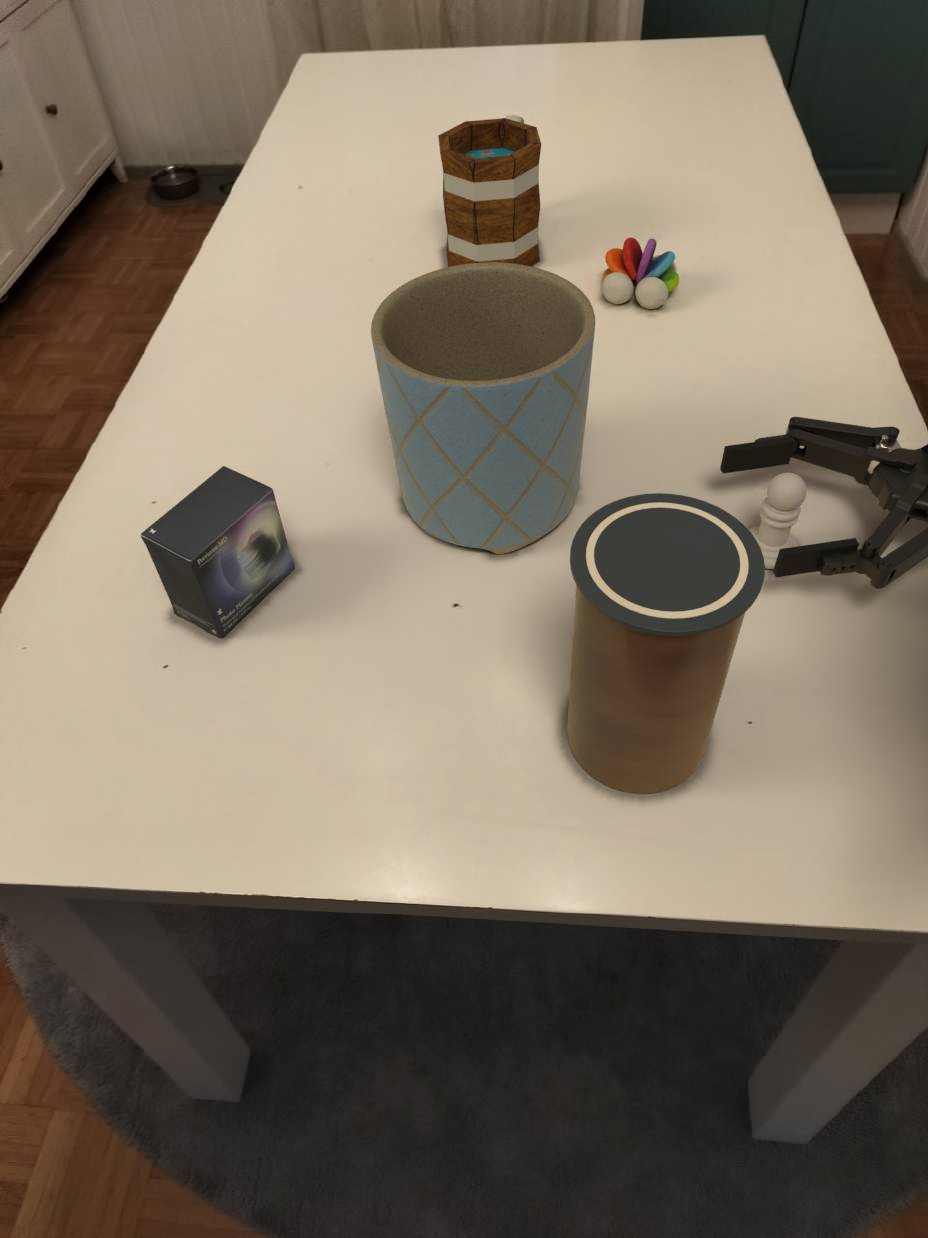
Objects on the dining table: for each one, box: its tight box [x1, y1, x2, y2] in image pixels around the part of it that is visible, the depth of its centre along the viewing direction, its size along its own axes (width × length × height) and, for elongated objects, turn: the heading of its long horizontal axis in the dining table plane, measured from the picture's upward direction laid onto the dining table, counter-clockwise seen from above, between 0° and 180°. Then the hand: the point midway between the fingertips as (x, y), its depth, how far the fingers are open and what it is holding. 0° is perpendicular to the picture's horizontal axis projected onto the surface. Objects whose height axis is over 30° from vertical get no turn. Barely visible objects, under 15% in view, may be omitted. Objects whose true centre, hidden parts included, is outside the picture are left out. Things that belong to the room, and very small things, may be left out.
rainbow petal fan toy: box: [601, 236, 680, 310], centre depth 110 cm, size 8×10×7 cm
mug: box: [437, 114, 542, 267], centre depth 117 cm, size 20×14×15 cm
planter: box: [370, 262, 596, 555], centre depth 82 cm, size 19×19×20 cm
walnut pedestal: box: [566, 584, 746, 795], centre depth 63 cm, size 11×11×20 cm
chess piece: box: [747, 472, 808, 570], centre depth 79 cm, size 5×5×9 cm
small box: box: [140, 465, 296, 639], centre depth 79 cm, size 11×6×10 cm, turn 147°
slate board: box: [569, 492, 766, 636], centre depth 55 cm, size 12×12×1 cm
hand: (748, 508), depth 78 cm, fingers open, 13 cm apart
